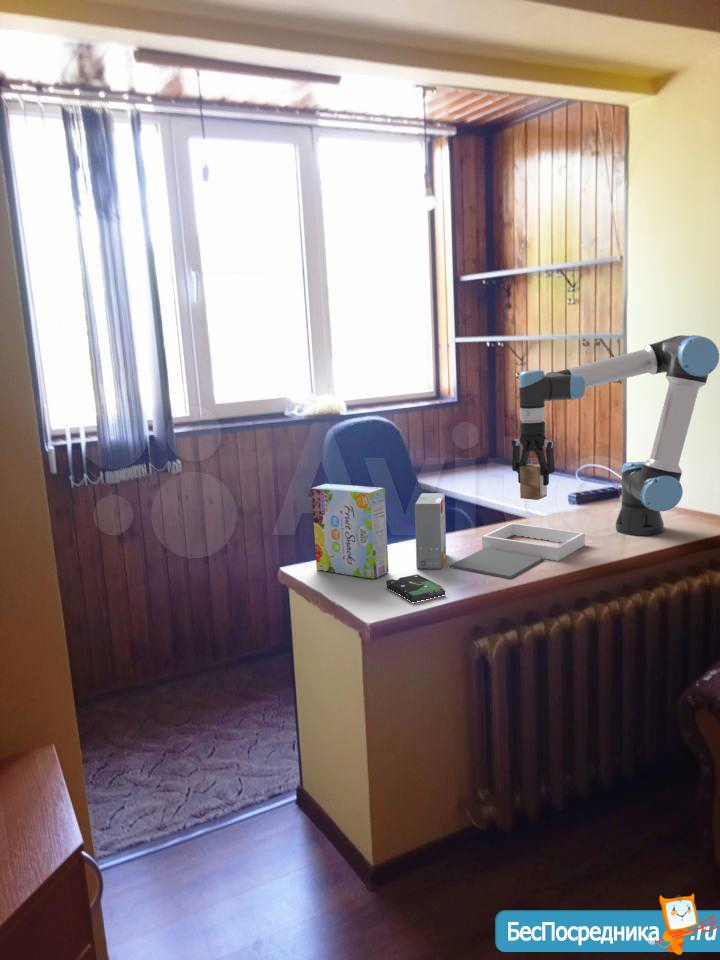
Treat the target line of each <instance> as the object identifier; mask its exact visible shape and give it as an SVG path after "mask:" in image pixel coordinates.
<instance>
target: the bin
mask: <svg viewBox="0 0 720 960" xmlns="http://www.w3.org/2000/svg"><path fill="white" fill-rule="evenodd" d="M514 535H516V537H521V536H524V537H523V538H527V537H530V538H529V539H534V538H536V539H535V540H541V539H543V540H542V541H547V540H549V542H556V543H560V544H558V545H557V546H554V545H548V544H542V543H541V544H540V543H535V542H530V541H529V542H528V541H521V540H515V539H509V537H512V536H514ZM585 539H586V534H585V532H581V531H573V530H566V529H558V528H553V527H552V528H551V527H543V526H537V525H531V524H530V525H529V524H523V523H518V522H517V523H515V522H510V523H508V524H506V525H503V526H501V527H498V528H496V529H495V530H493V531H491V532H488V533H486V534H484V535H482V536H481V549H484V548H488V549H494V550H500V551H506V552H512V553H518V554H525V555H531V556H537V557H543V560H544V559H545V560H549V559H550V561H551V560H552V561H555V560H556V562H557V561H560V560H562V559H564V558H565V557H567V556H568V555H570V554H572V553H575V551H577V550H579V549H581V548H583V546H585V544H586V543H585V542H586V540H585Z"/></svg>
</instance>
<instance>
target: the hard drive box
mask: <svg viewBox="0 0 720 960" xmlns="http://www.w3.org/2000/svg"><path fill="white" fill-rule="evenodd" d="M445 494H446V493H441V492H439V493H436V492H435V493H434V492H433V493H430V492H429V493H427V492H426V493H425V492H424V493H423V492H422V493H421V494H420V495H419V496H418V498H417V500H416V502H415V504H414V516H415V521H414V522H415V559H416V561H415V563H416V564H415V565H416V566H415V567H416V569H428V570H429V569H431V570H432V569H433V570H434V569H436V570H437V569H439V570H441V569H442V568H443V565H444V562H445V559H446V555H447V537H446V536H447V533H446V532H447V531H446V509H445V508H446V497H445V496H446V495H445Z"/></svg>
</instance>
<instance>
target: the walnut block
mask: <svg viewBox="0 0 720 960" xmlns="http://www.w3.org/2000/svg"><path fill="white" fill-rule="evenodd" d="M541 474H542V471H541V468H540V465H539V463H537V464H536V463H528V464H527V463H526V465H524V466H521V467H520V483H519V486H520V487H519V489H520V490H519V493H520V494H519V497H520V499H524V500H532V501H539V500H541V499H543V498H546V497H548V494H547V495H544V496H540V475H541ZM547 486H548V485H546V490H548V487H547Z"/></svg>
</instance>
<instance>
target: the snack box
mask: <svg viewBox="0 0 720 960" xmlns="http://www.w3.org/2000/svg"><path fill="white" fill-rule="evenodd" d="M310 489H311V501H312V503H311V504H312V517H313V532H314V533H313V534H314V548H315V549H314V550H315V562H316V563H315V565H316V571H319V570H324V571H323V572H326V571H329V573H333V572H335V573H334V574H339V573H340V574H341V575H345V576H346V575H347V576H353V577H360V578H366V579H373V580H374V579H377V578H379V577H382V576H384V575H385V574H387V573H389V570H390V569H389V556H388V555H389V554H388V552H389V549H388V533H387V531H388V530H387V510H386V508H387V506H386V488H385V487H375V486H363V485H351V484H350V485H349V484H337V483H335V484H334V483H324V484H321V485H318V486H314V487H311V488H310Z"/></svg>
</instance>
